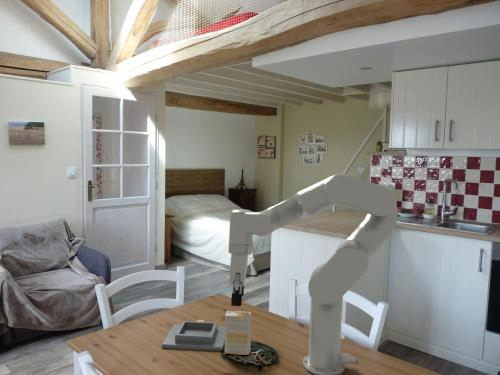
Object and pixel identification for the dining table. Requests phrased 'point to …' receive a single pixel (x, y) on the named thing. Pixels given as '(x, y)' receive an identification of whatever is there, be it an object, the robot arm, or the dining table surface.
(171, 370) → the dining table surface
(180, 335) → the cradle board
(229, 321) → the supplement box
